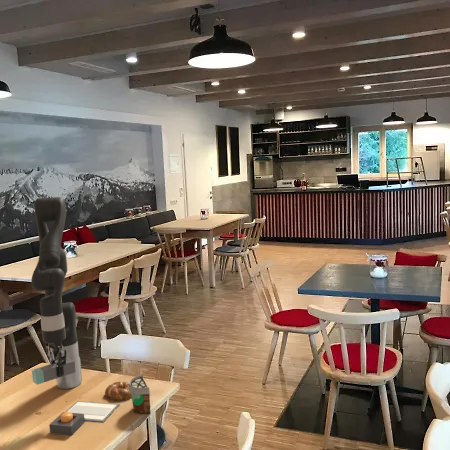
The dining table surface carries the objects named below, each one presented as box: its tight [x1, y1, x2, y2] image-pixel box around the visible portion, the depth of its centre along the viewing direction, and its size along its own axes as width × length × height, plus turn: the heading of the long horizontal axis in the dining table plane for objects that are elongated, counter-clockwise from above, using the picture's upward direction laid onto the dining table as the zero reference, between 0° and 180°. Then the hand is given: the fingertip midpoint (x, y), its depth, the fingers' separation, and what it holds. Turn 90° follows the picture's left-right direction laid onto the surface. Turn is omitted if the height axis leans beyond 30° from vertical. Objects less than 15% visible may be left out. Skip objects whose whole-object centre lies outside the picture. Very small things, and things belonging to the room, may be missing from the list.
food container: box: [128, 374, 151, 415], centre depth 171 cm, size 12×6×10 cm, turn 21°
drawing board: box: [65, 400, 120, 423], centre depth 172 cm, size 12×17×1 cm
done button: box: [61, 411, 73, 423], centre depth 162 cm, size 4×4×2 cm
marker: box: [31, 358, 75, 385], centre depth 167 cm, size 13×4×4 cm, turn 131°
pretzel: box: [104, 381, 132, 401], centre depth 184 cm, size 12×11×4 cm
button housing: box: [48, 411, 86, 436], centre depth 162 cm, size 8×8×3 cm
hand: (58, 374), depth 168 cm, fingers closed on marker, 4 cm apart
